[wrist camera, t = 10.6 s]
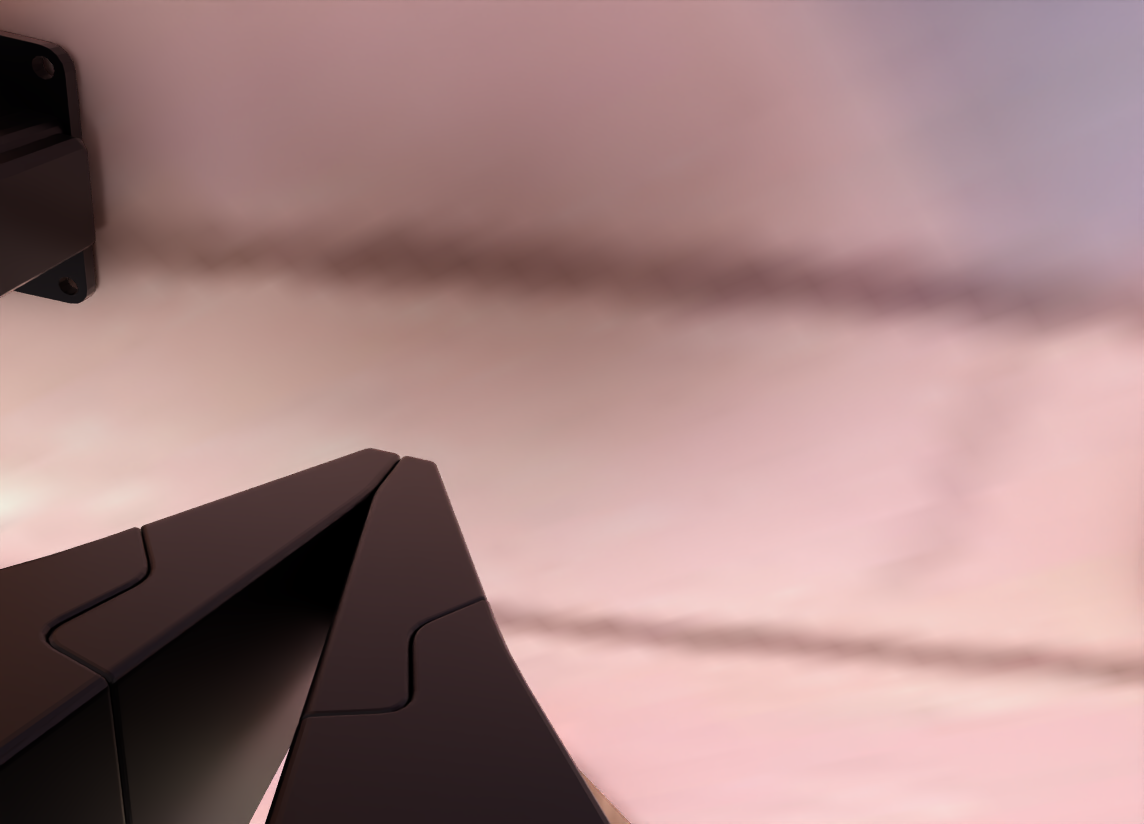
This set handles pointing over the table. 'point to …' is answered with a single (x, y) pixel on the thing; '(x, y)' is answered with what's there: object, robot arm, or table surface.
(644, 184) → the table surface
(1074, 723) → the table surface
